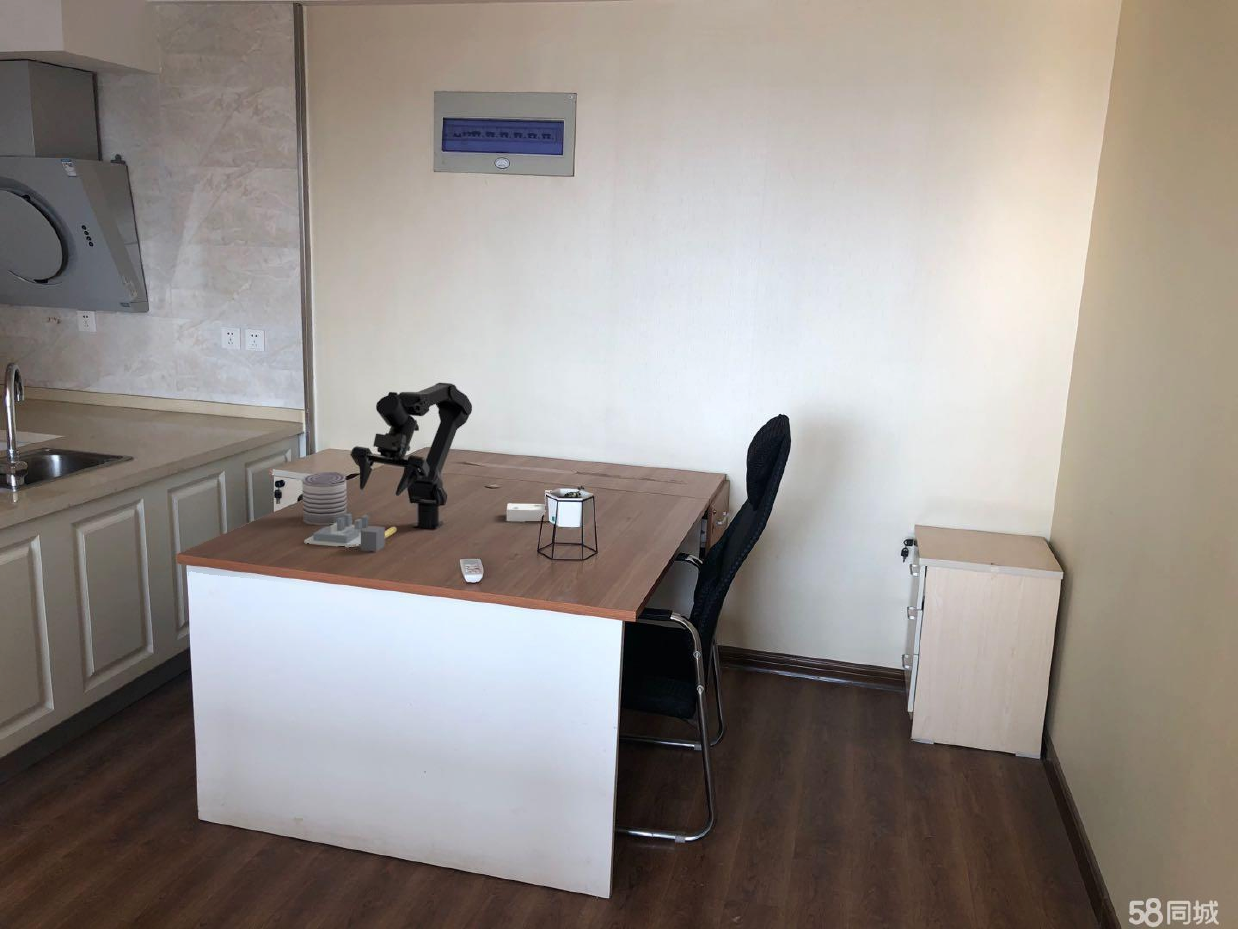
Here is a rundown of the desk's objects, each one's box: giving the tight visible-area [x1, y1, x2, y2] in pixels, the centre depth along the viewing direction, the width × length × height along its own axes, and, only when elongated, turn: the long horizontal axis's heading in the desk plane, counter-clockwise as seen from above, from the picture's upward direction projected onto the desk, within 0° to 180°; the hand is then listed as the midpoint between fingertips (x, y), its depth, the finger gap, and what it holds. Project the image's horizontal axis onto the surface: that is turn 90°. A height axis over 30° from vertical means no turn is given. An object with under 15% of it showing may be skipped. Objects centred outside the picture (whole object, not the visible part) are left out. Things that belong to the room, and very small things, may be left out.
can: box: [301, 471, 348, 526], centre depth 263 cm, size 11×11×12 cm
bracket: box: [506, 490, 551, 522], centre depth 274 cm, size 13×7×8 cm, turn 94°
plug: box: [360, 525, 398, 553], centre depth 245 cm, size 16×4×5 cm, turn 170°
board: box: [304, 513, 370, 548], centre depth 249 cm, size 17×13×4 cm
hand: (378, 492), depth 236 cm, fingers open, 9 cm apart
